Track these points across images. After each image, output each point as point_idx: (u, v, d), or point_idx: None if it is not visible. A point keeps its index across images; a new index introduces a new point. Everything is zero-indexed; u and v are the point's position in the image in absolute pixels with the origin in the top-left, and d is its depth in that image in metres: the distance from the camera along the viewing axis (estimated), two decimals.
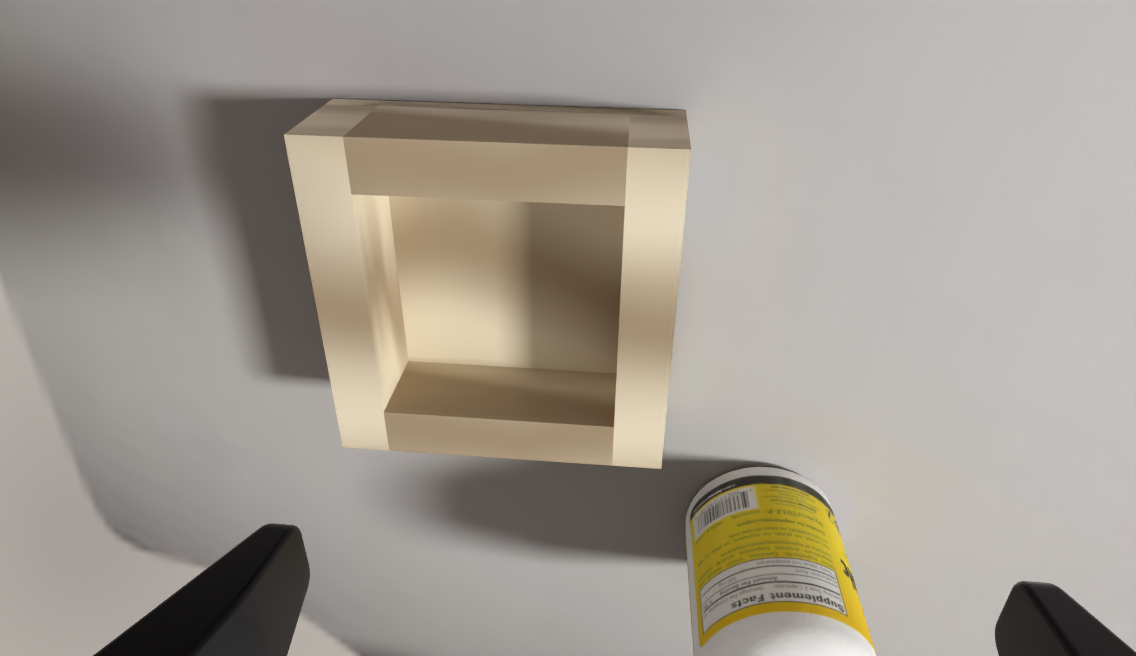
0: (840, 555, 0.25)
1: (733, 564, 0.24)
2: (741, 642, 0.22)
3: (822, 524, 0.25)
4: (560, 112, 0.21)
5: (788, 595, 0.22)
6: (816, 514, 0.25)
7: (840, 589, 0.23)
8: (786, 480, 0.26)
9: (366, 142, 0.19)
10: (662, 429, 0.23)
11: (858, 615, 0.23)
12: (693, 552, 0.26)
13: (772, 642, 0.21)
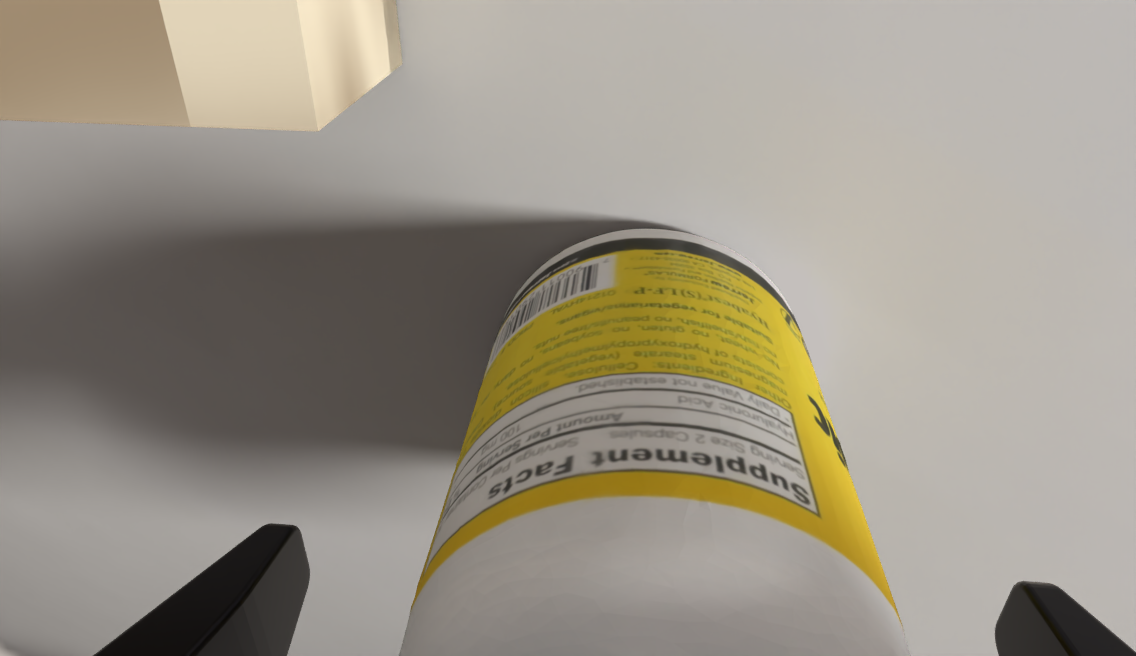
0: (809, 389, 0.10)
1: (524, 399, 0.09)
2: (481, 591, 0.07)
3: (767, 325, 0.10)
4: None
5: (643, 455, 0.07)
6: (754, 305, 0.11)
7: (802, 451, 0.08)
8: (692, 246, 0.12)
9: None
10: None
11: (852, 520, 0.08)
12: (475, 405, 0.11)
13: (569, 586, 0.06)
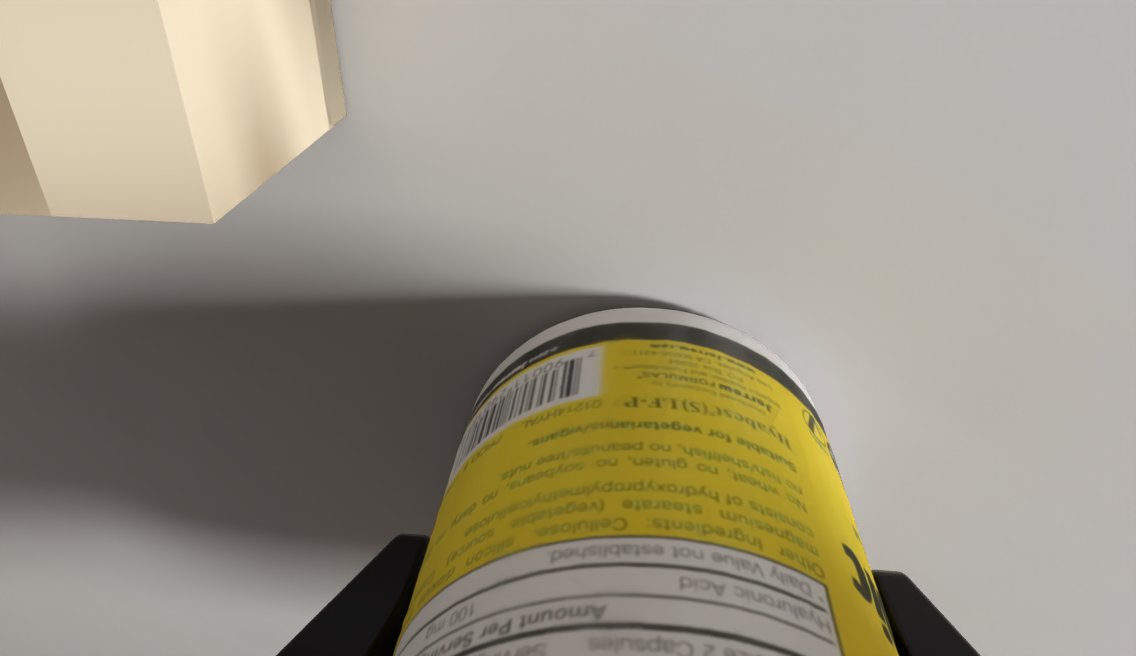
0: (842, 532, 0.08)
1: (483, 561, 0.07)
2: None
3: (789, 441, 0.09)
4: None
5: None
6: (772, 415, 0.09)
7: (843, 651, 0.06)
8: (695, 333, 0.10)
9: None
10: (157, 37, 0.06)
11: None
12: (434, 528, 0.09)
13: None
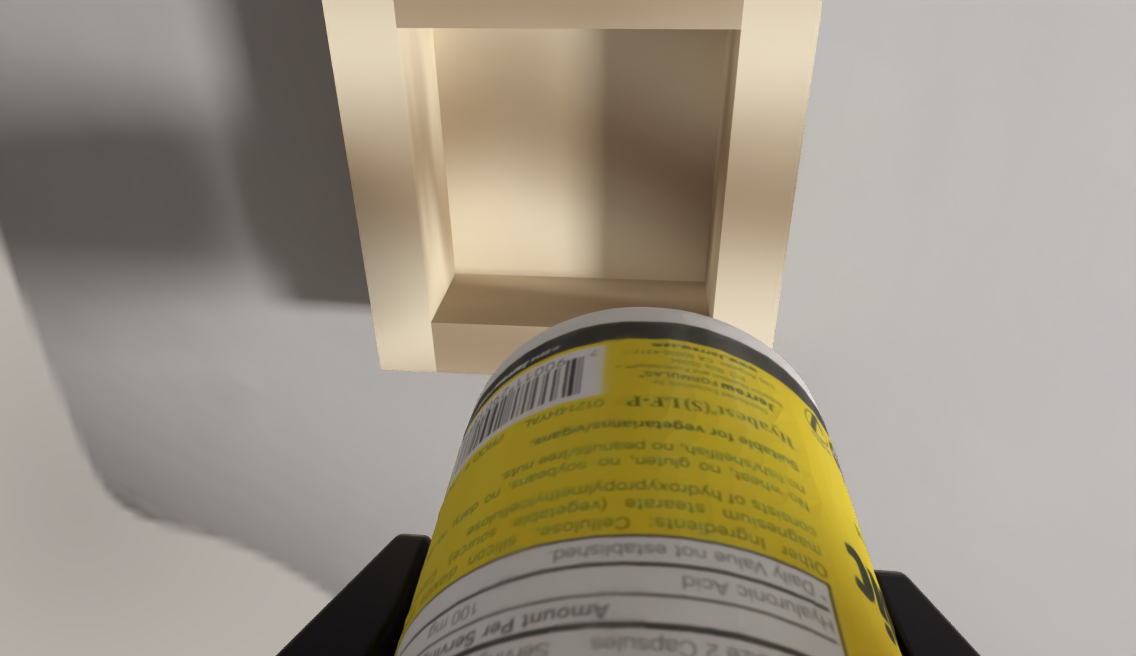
0: (845, 531, 0.08)
1: (485, 559, 0.07)
2: None
3: (791, 440, 0.09)
4: None
5: None
6: (773, 415, 0.09)
7: (846, 652, 0.06)
8: (697, 332, 0.10)
9: None
10: (771, 334, 0.18)
11: None
12: (436, 527, 0.09)
13: None
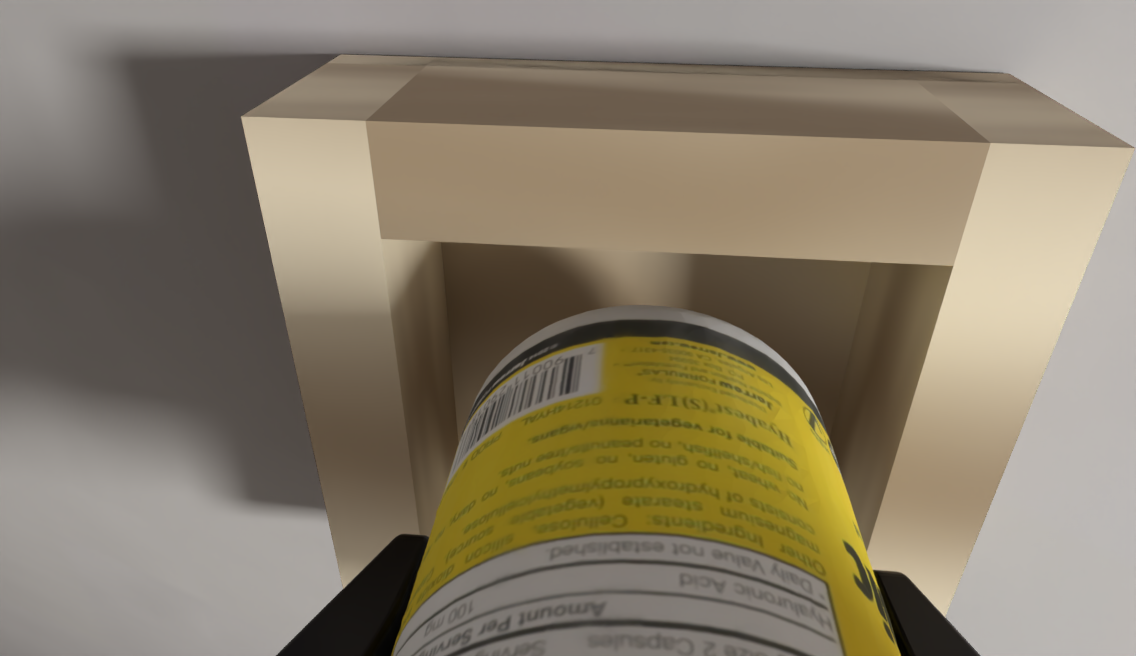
0: (844, 529, 0.08)
1: (482, 557, 0.07)
2: None
3: (790, 438, 0.09)
4: (777, 76, 0.11)
5: None
6: (772, 412, 0.09)
7: (844, 650, 0.06)
8: (696, 330, 0.10)
9: (415, 133, 0.09)
10: None
11: None
12: (433, 526, 0.09)
13: None
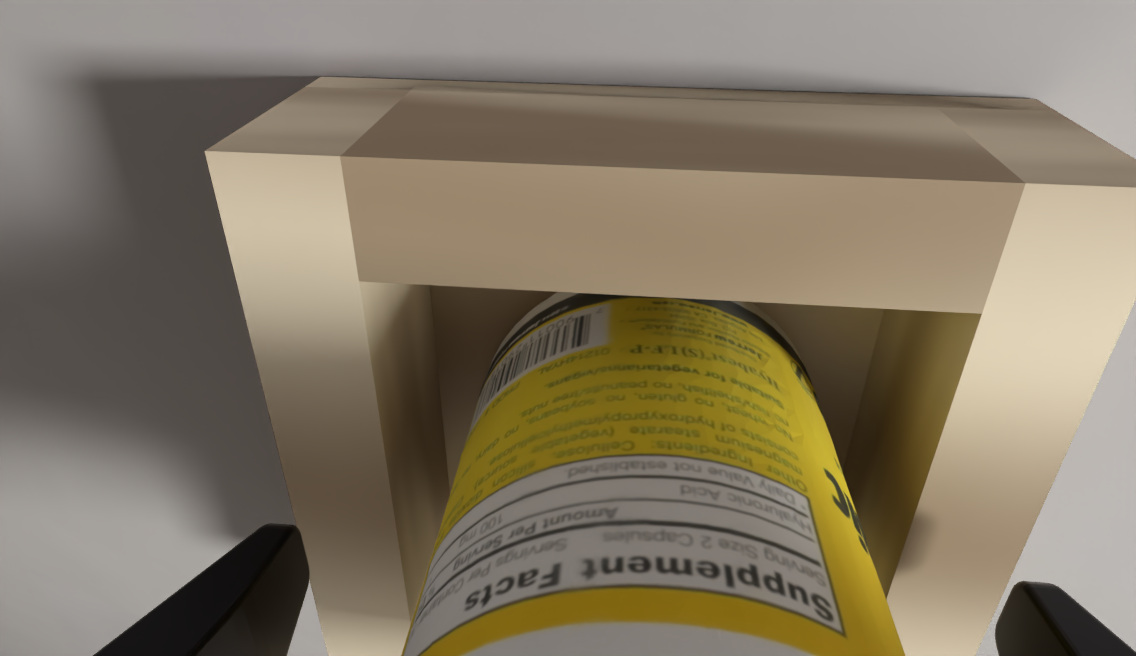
0: (825, 460, 0.09)
1: (509, 480, 0.08)
2: None
3: (778, 384, 0.10)
4: (788, 103, 0.10)
5: (641, 565, 0.06)
6: (762, 362, 0.10)
7: (822, 548, 0.07)
8: None
9: (394, 169, 0.08)
10: None
11: (880, 630, 0.07)
12: (458, 469, 0.10)
13: None
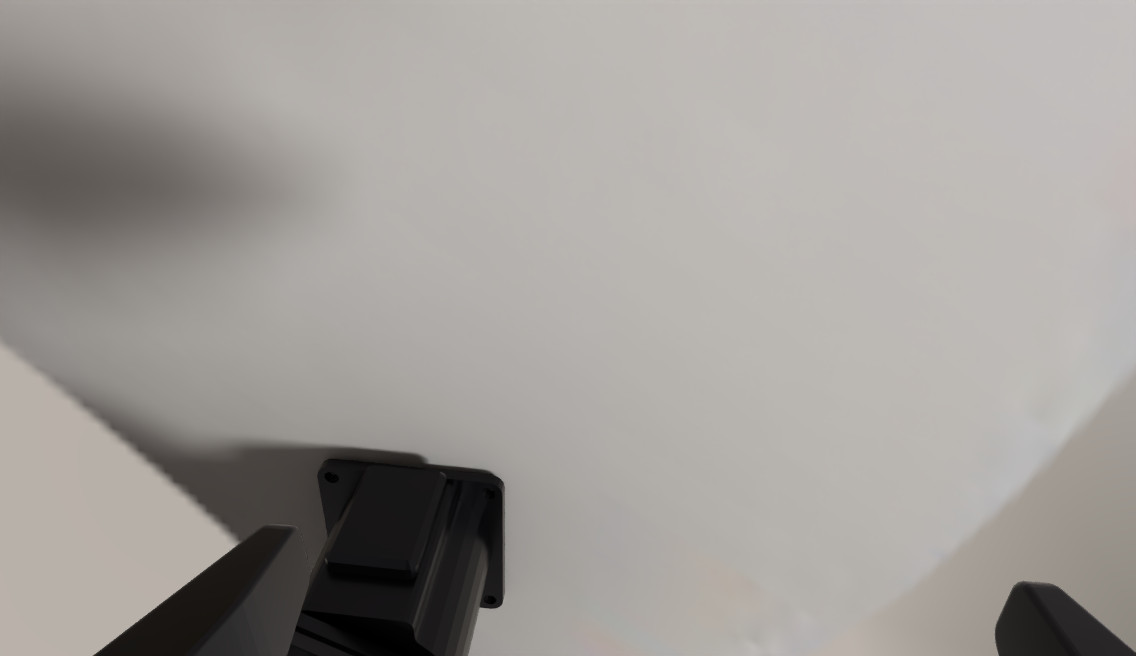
0: None
1: None
2: None
3: None
4: None
5: None
6: None
7: None
8: None
9: None
10: None
11: None
12: None
13: None
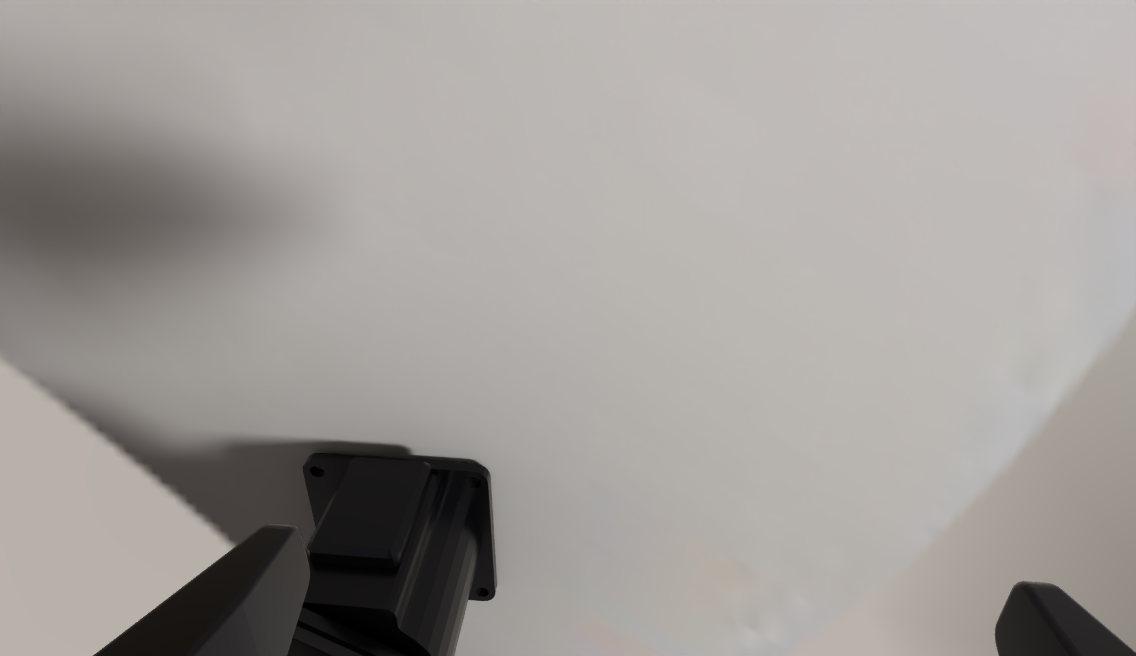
0: None
1: None
2: None
3: None
4: None
5: None
6: None
7: None
8: None
9: None
10: None
11: None
12: None
13: None
